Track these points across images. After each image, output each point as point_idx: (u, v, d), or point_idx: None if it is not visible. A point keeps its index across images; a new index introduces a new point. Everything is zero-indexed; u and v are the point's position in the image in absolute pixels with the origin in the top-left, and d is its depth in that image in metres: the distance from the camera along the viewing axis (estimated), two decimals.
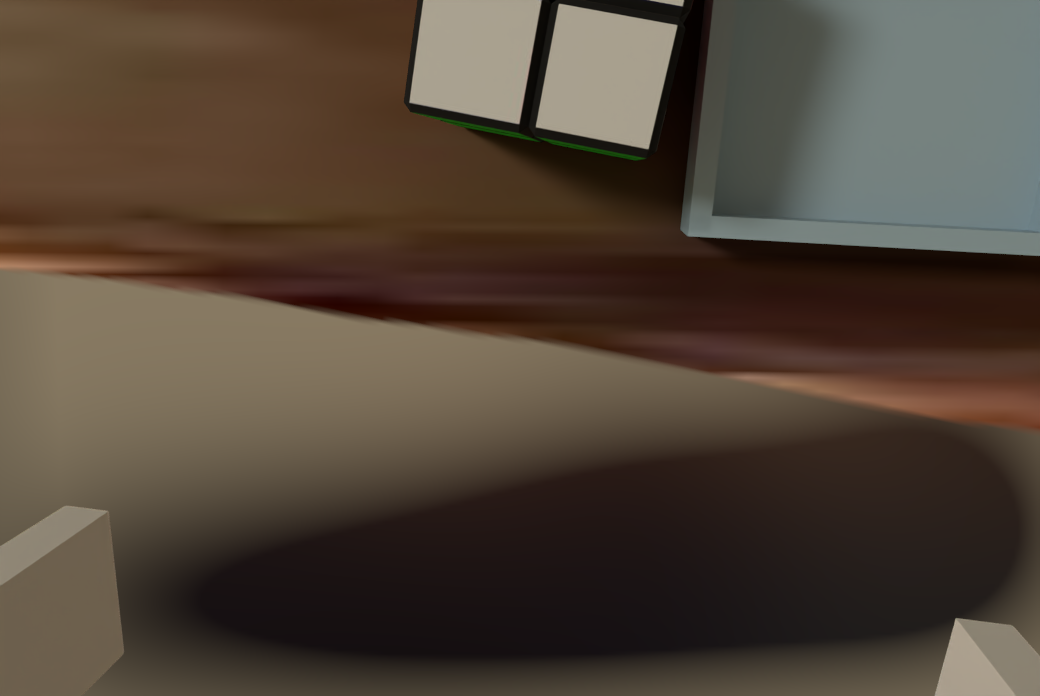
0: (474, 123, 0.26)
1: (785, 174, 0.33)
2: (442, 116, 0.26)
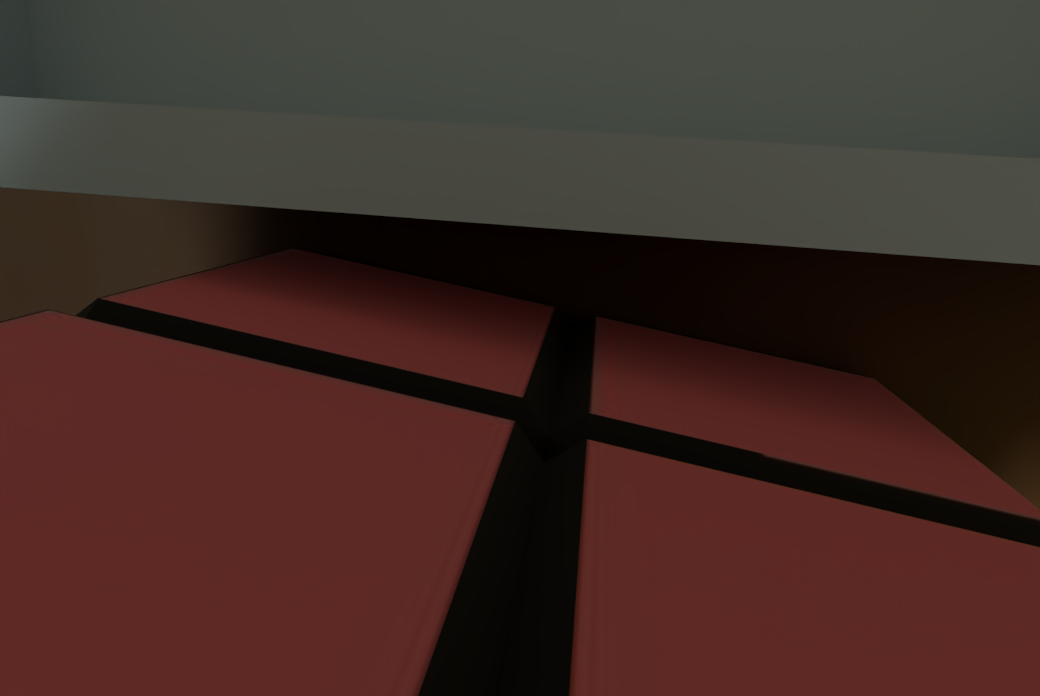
0: None
1: None
2: None
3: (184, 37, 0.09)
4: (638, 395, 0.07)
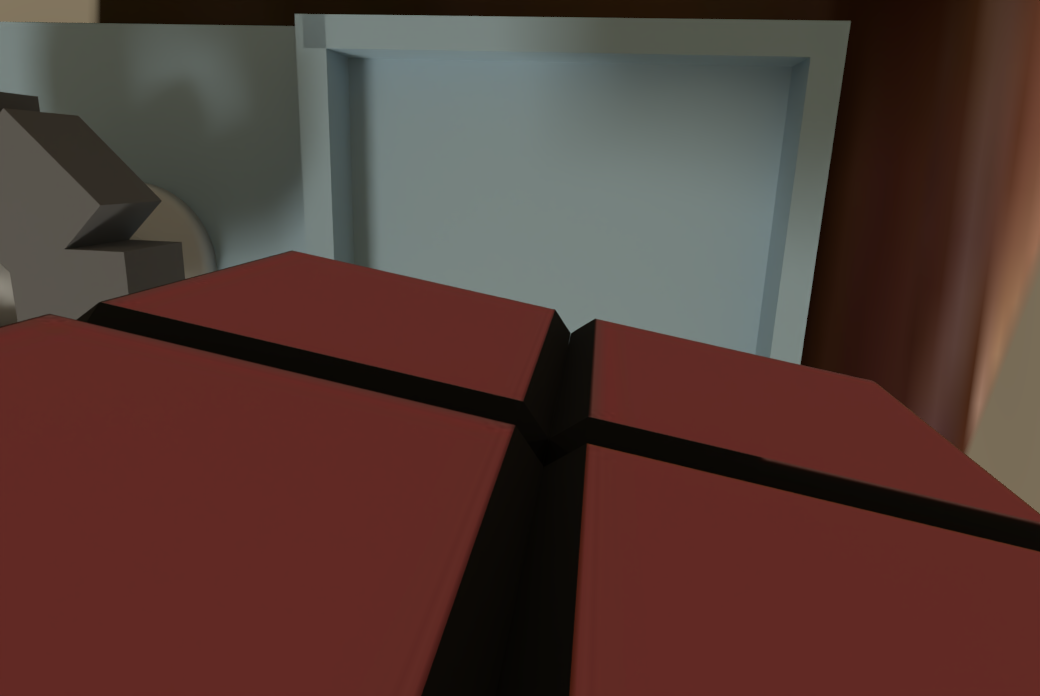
0: None
1: None
2: None
3: None
4: (637, 399, 0.07)
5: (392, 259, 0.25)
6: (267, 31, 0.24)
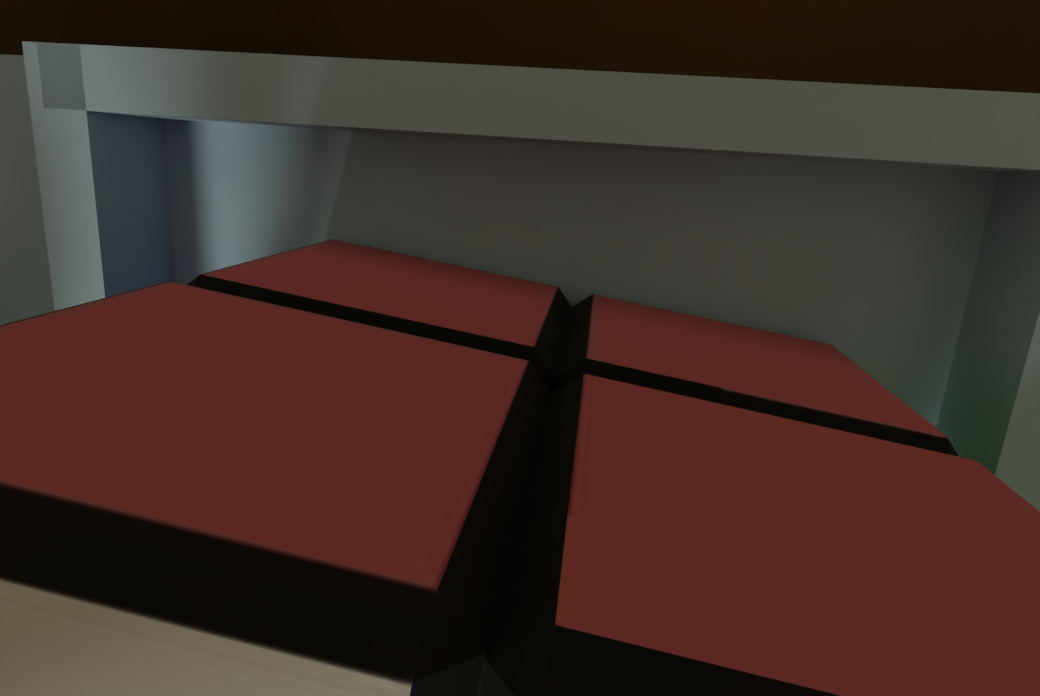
0: None
1: None
2: None
3: None
4: (625, 349, 0.09)
5: None
6: (18, 65, 0.13)
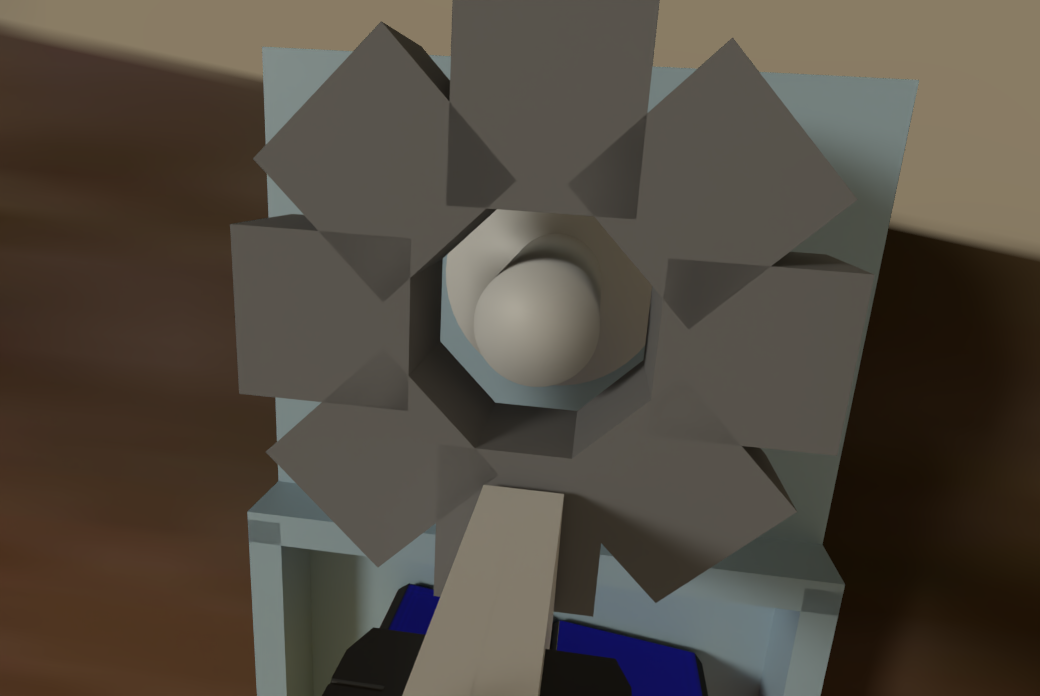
0: None
1: None
2: None
3: (338, 575, 0.23)
4: None
5: None
6: (827, 486, 0.20)
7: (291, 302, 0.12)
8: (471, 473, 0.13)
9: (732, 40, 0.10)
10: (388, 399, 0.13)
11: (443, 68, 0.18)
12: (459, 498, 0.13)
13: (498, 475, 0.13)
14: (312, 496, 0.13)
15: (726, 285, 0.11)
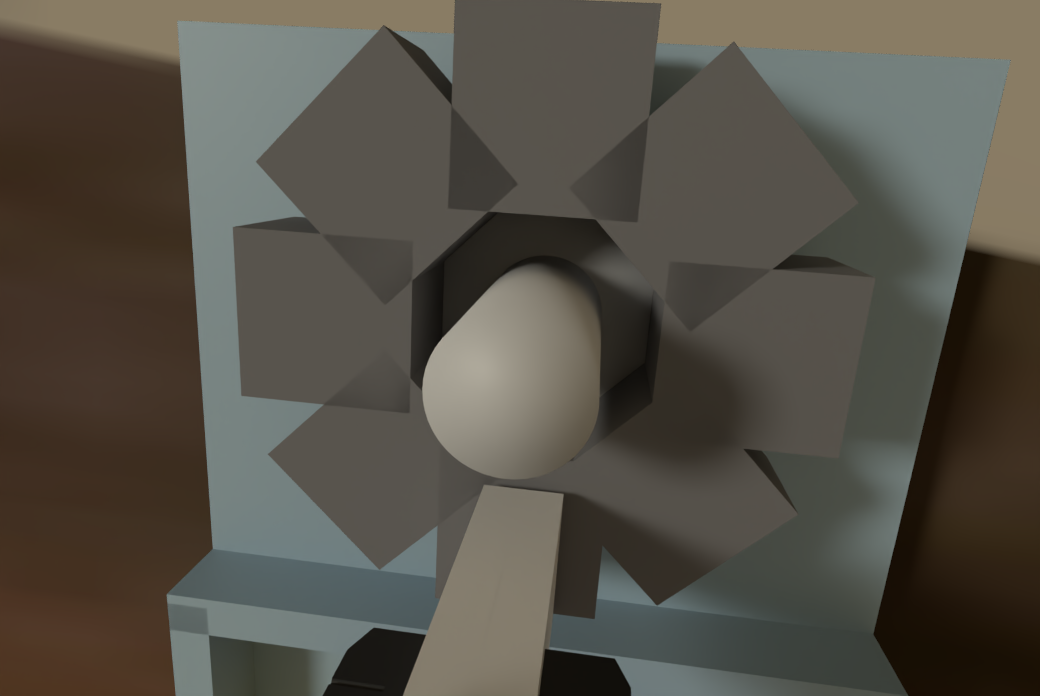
0: None
1: None
2: None
3: (287, 660, 0.19)
4: None
5: None
6: (881, 564, 0.16)
7: (293, 305, 0.12)
8: (473, 475, 0.13)
9: (733, 44, 0.10)
10: (390, 402, 0.13)
11: None
12: (461, 500, 0.13)
13: None
14: (313, 499, 0.13)
15: (727, 288, 0.11)
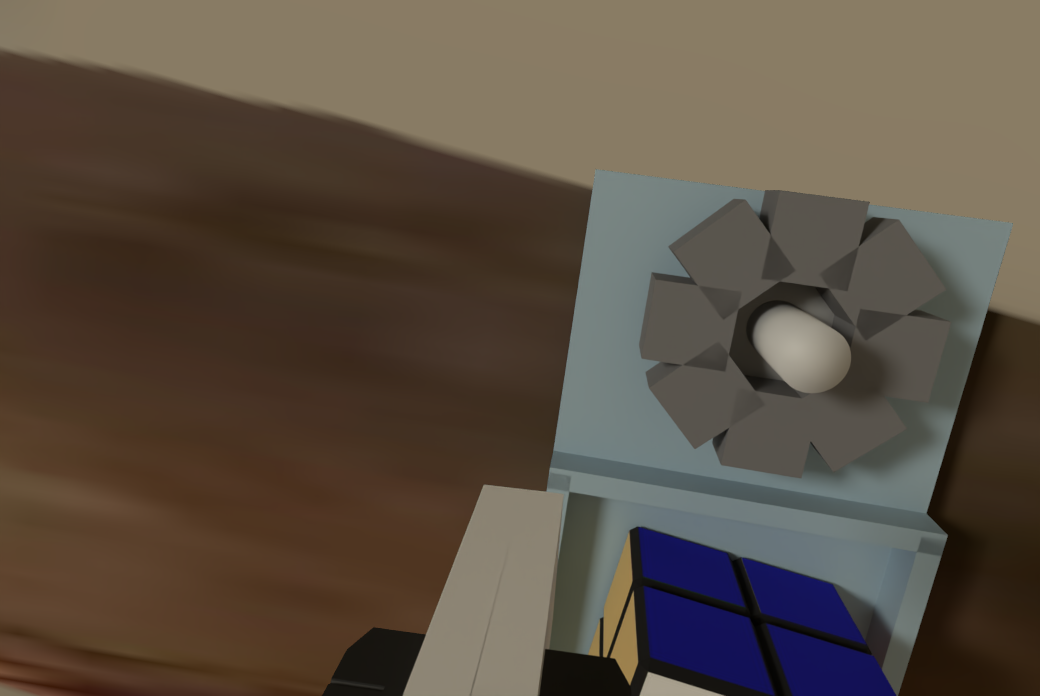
0: None
1: None
2: None
3: (584, 519, 0.33)
4: None
5: (736, 531, 0.32)
6: (933, 473, 0.30)
7: (677, 317, 0.26)
8: (751, 403, 0.27)
9: (899, 220, 0.25)
10: (716, 365, 0.27)
11: (713, 191, 0.29)
12: (743, 415, 0.27)
13: (764, 405, 0.27)
14: (667, 411, 0.27)
15: (885, 322, 0.26)
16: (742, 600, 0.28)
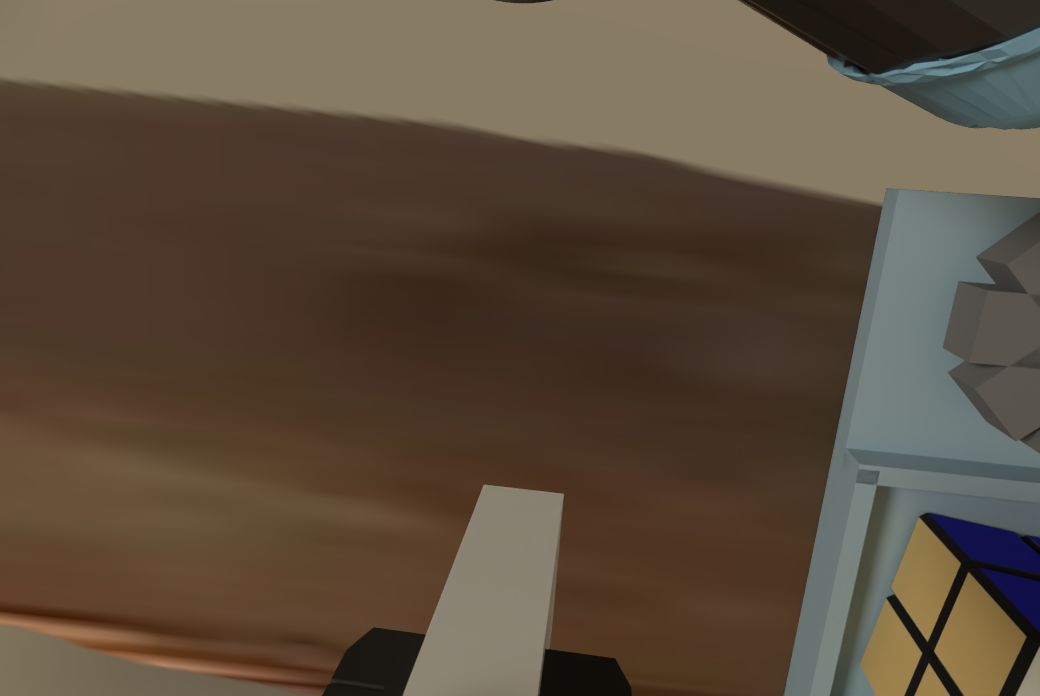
0: None
1: None
2: None
3: (873, 508, 0.36)
4: None
5: (1019, 511, 0.35)
6: None
7: (1006, 323, 0.29)
8: None
9: None
10: None
11: (1012, 203, 0.31)
12: None
13: None
14: (992, 409, 0.30)
15: None
16: None
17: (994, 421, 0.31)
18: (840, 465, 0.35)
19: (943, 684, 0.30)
